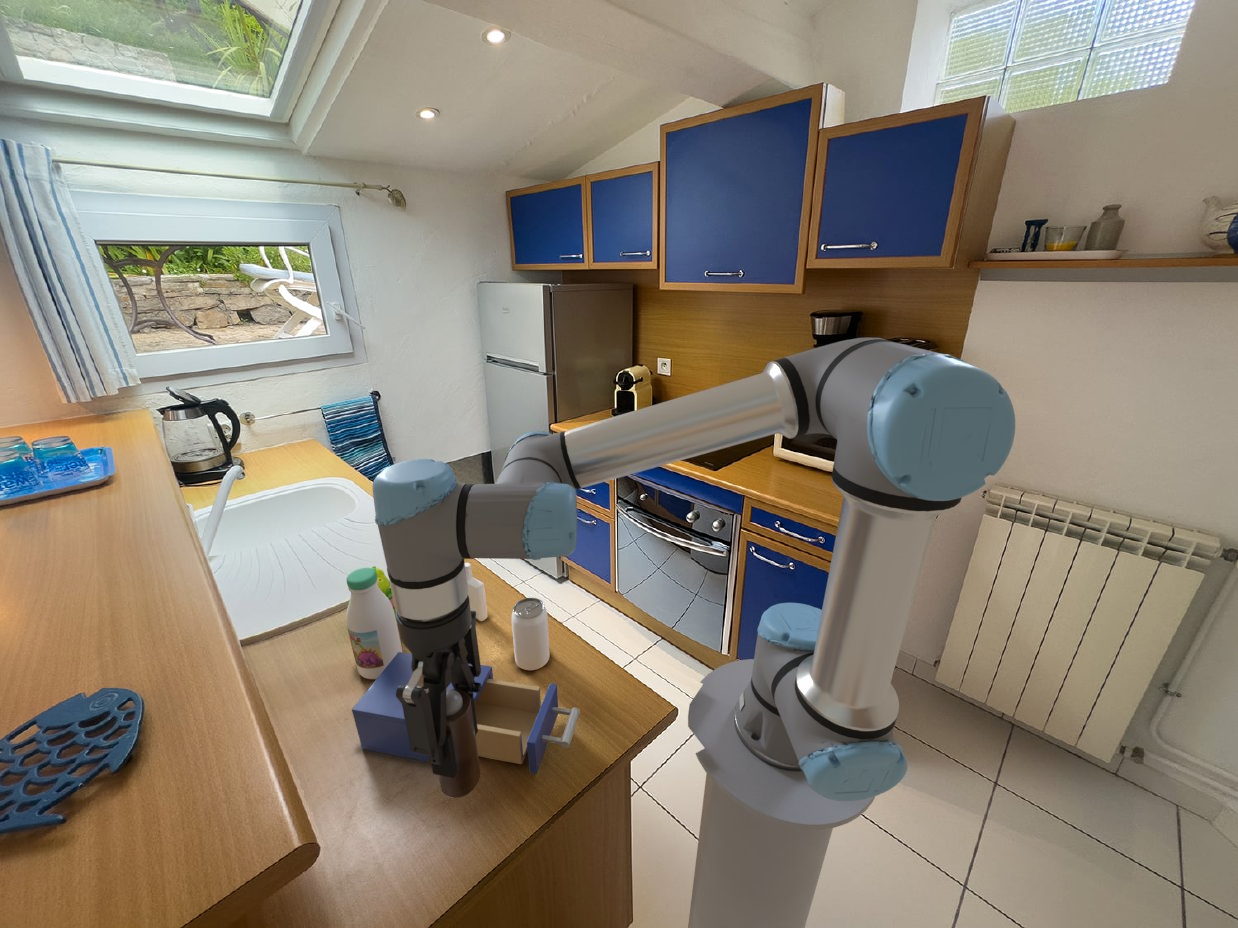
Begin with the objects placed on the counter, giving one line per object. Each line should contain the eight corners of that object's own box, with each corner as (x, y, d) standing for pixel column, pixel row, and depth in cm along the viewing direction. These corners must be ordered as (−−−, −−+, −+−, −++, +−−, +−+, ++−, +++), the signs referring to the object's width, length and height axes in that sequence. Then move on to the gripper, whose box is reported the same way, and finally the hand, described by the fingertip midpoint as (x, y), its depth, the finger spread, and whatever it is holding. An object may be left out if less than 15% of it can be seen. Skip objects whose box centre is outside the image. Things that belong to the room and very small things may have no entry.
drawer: (583, 717, 80) (583, 688, 78) (565, 779, 71) (564, 748, 68) (469, 698, 83) (465, 669, 81) (437, 755, 74) (432, 724, 71)
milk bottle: (388, 643, 96) (370, 556, 88) (412, 660, 92) (395, 571, 84) (349, 667, 90) (326, 577, 83) (372, 687, 86) (350, 594, 79)
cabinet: (496, 703, 84) (492, 666, 80) (463, 768, 73) (457, 728, 70) (406, 688, 86) (398, 651, 83) (362, 748, 76) (351, 709, 72)
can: (507, 661, 92) (502, 610, 88) (532, 641, 97) (528, 591, 93) (533, 677, 89) (529, 624, 84) (556, 655, 94) (554, 604, 89)
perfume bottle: (488, 617, 104) (483, 569, 99) (481, 622, 102) (475, 573, 97) (465, 601, 108) (459, 555, 103) (457, 606, 107) (451, 559, 102)
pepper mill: (486, 764, 66) (476, 681, 60) (469, 801, 61) (456, 715, 55) (452, 757, 67) (438, 674, 61) (432, 793, 62) (416, 708, 56)
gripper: (442, 551, 62) (462, 689, 71) (343, 657, 45) (385, 819, 54) (499, 558, 61) (511, 698, 70) (418, 669, 44) (448, 833, 53)
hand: (456, 751), depth 62 cm, fingers closed on pepper mill, 5 cm apart
